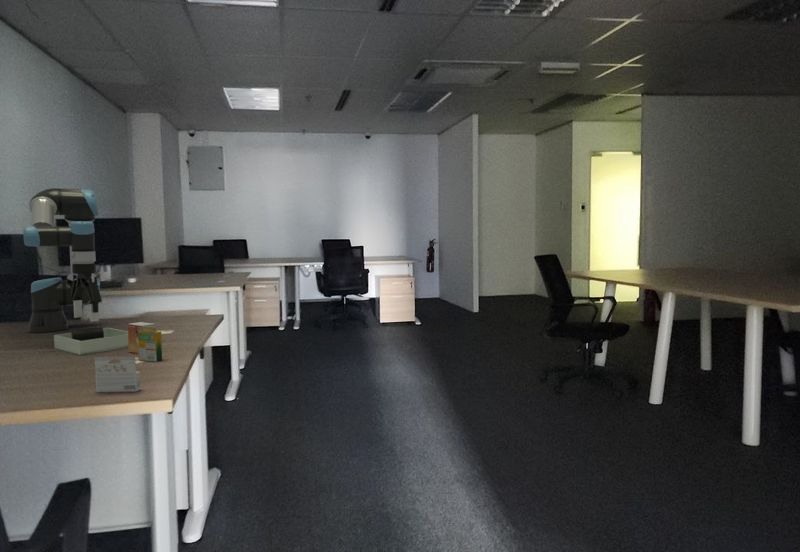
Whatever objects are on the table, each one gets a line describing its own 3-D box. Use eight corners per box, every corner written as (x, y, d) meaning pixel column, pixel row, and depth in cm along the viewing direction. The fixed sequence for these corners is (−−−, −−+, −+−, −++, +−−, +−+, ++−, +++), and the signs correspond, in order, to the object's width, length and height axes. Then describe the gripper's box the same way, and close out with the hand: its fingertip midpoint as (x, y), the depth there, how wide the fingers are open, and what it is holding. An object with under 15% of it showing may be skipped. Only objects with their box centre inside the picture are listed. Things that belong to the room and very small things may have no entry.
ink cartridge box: (100, 389, 143) (98, 354, 142) (141, 389, 143) (139, 354, 142) (95, 392, 140) (93, 356, 139) (137, 392, 140) (135, 356, 140)
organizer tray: (54, 347, 197) (53, 334, 197) (109, 339, 213) (108, 327, 213) (80, 355, 184) (79, 341, 184) (136, 346, 200) (136, 333, 200)
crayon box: (162, 359, 178) (161, 326, 177) (156, 361, 175) (155, 327, 174) (144, 358, 180) (143, 325, 179) (138, 360, 177) (137, 326, 176)
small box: (128, 352, 190) (127, 323, 189) (142, 349, 194) (141, 321, 194) (142, 354, 186) (141, 325, 185) (156, 351, 191) (155, 323, 190)
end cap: (73, 349, 191) (72, 331, 190) (70, 346, 196) (69, 328, 196) (104, 345, 197) (103, 328, 197) (100, 343, 202) (99, 325, 202)
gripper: (58, 261, 199) (61, 316, 200) (88, 264, 184) (90, 324, 186) (80, 260, 205) (82, 314, 206) (110, 263, 190) (112, 321, 192)
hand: (86, 319), depth 196 cm, fingers open, 13 cm apart
